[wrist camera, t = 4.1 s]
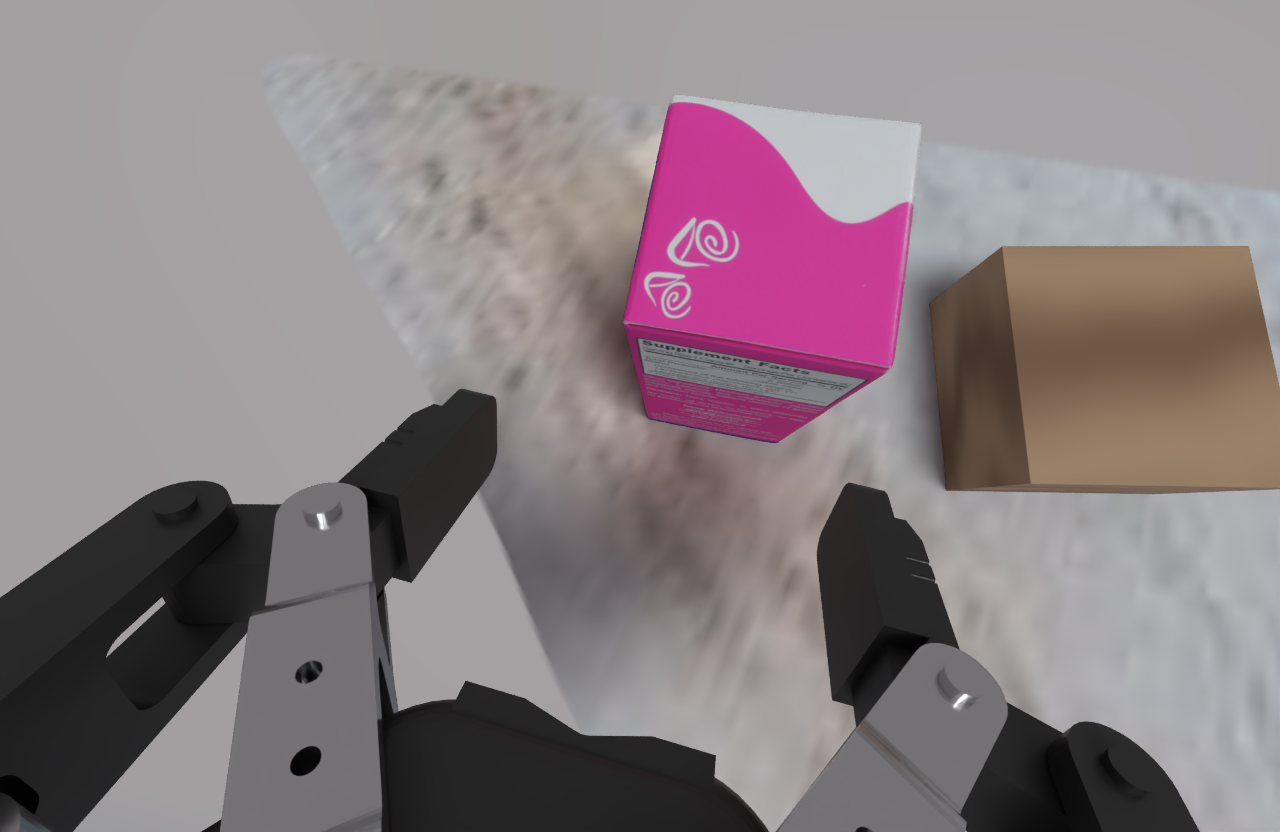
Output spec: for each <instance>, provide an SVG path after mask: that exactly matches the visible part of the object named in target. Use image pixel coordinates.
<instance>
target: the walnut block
mask: <svg viewBox="0 0 1280 832" xmlns="http://www.w3.org/2000/svg"><path fill="white" fill-rule="evenodd" d="M929 305H930V316H931V327H932V338H933V349H934V360H935V371H936V382H937V393H938V404H939V415H940V426H941V437H942V448H943V459H944V470H945V481H946V491H1004V492H1062V493H1120V494H1168V493H1193V492H1219V491H1244V490H1269V489H1280V388H1279V383H1278V378H1277V374H1276V369H1275V365H1274V360H1273V355H1272V351H1271V346H1270V342H1269V337H1268V332H1267V328H1266V323H1265V319H1264V314H1263V309H1262V305H1261V300H1260V296H1259V291H1258V286H1257V282H1256V277H1255V273H1254V268H1253V263H1252V259H1251V254H1250V250H1249V246H1007V247H1001V248H1000V249H998V250H997V251H996V252H994V253H993V254H992V255H991V256H989V257H988V258H987V259H985V260H984V261H983V262H982V263H980V264H979V265H978V266H977V267H975V268H974V269H973V270H971V271H970V272H969V273H968V274H966V275H965V276H964V277H962V278H961V279H960V280H959V281H957V282H956V283H955V284H953V285H952V286H951V287H950V288H948V289H947V290H946V291H944V292H943V293H942V294H941V295H939V296H938V297H937V298H935V299H934V300H933V301H932V302H930V303H929Z"/></svg>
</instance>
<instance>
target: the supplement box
mask: <svg viewBox="0 0 1280 832" xmlns="http://www.w3.org/2000/svg"><path fill="white" fill-rule="evenodd" d="M921 131H922V126H921V125H920V124H918V123H913V122H900V121H892V120H880V119H871V118H861V117H851V116H840V115H831V114H822V113H812V112H805V111H797V110H788V109H780V108H774V107H766V106H758V105H751V104H745V103H736V102H729V101H722V100H714V99H707V98H700V97H691V96H684V95H674V96H673V97H672V99H671V100H670V103H669V107H668V111H667V115H666V119H665V124H664V128H663V133H662V138H661V143H660V147H659V151H658V156H657V161H656V166H655V171H654V175H653V180H652V184H651V189H650V193H649V198H648V203H647V208H646V213H645V217H644V222H643V227H642V232H641V237H640V242H639V246H638V251H637V256H636V260H635V265H634V270H633V274H632V279H631V284H630V289H629V293H628V298H627V303H626V307H625V312H624V316H623V325H624V328H625V332H626V335H627V339H628V342H629V346H630V350H631V354H632V359H633V362H634V366H635V370H636V374H637V377H638V381H639V386H640V389H641V393H642V397H643V401H644V405H645V409H646V413H647V417H648V418H649V419H651V420H656V421H661V422H666V423H671V424H676V425H682V426H687V427H692V428H697V429H702V430H707V431H712V432H717V433H722V434H727V435H732V436H738V437H743V438H748V439H754V440H759V441H765V442H771V443H778V442H779V441H781V440H782V439H784V438H785V437H787V436H789V435H790V434H791V433H793V432H794V431H796V430H797V429H799V428H801V427H802V426H804V425H805V424H807V423H809V422H810V421H812V420H813V419H815V418H816V417H818V416H820V415H821V414H823V413H824V412H825V411H827V410H828V409H830V408H831V407H833V406H835V405H836V404H838V403H839V402H841V401H842V400H844V399H846V398H847V397H849V396H850V395H852V394H853V393H855V392H857V391H858V390H860V389H861V388H863V387H865V386H866V385H868V384H870V383H871V382H873V381H874V380H876V379H877V378H879V377H881V376H882V375H884V374H885V373H887V372H888V371H889V370H890V369H891V367H892V365H893V361H894V357H895V351H896V343H897V336H898V328H899V321H900V315H901V306H902V296H903V288H904V282H905V276H906V266H907V258H908V250H909V240H910V232H911V223H912V214H913V205H914V198H915V186H916V179H917V166H918V160H919V152H920V142H921Z"/></svg>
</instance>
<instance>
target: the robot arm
mask: <svg viewBox="0 0 1280 832" xmlns="http://www.w3.org/2000/svg"><path fill="white" fill-rule="evenodd" d="M496 454H497V404H496V399H495V397H493V396H490V395H486V394H482V393H478V392H474V391H470V390H466V389H460V390H458V391H457V392H456V393H455V394H454V395H453V396H452V397H451V398H450V399H449V400H448V401H447V402H446V403H445V404H444V405H443V406H440V405H436V404H433V405H431V406H429V407H426V408H424V409H422V410H420V411H418V412H415V413H413V414H412V415H411V416H410V417H408V418H407V419H406V420H405V421H404V422H403V423H402V424H401V425H400V426H399V427H398V429H397V431H396V430H395V431H393V432H392V433H391V434H390V435H389V436H388V437H387V438H386V439H385V442H381V443H380V444H379V445H378V446H377V447H376V448H375V449H374V450H373V451H371V452H370V453H369V454H368V455H367V456H366V457H365V458H364V459H363V460H362V461H361V462H360V463H358V464H357V465H356V466H355V467H354V468H353V469H352V470H351V471H350V472H349V473H347V474H346V475H345V476H344V477H343V478H342V479H341V480H340V481H339V482H338V483H324V484H319V485H314V486H311V487H308V488H306V489H304V490H301V491H299V492H297V493H295V494H294V495H292V496H291V497H289V498H288V499H287V500H286V501H285V502H284V503H283V504H280V505H279V504H277V505H264V504H262V505H259V504H258V505H257V504H254V505H253V504H249V505H248V504H232V501H231V499H230V496H229V494H228V492H227V490H226V489H225V488H224V487H223V486H221V485H219V484H217V483H214V482H209V481H188V482H181V483H177V484H173V485H169V486H166V487H163V488H160V489H158V490H156V491H153V492H151V493H150V494H147V495H145V496H144V497H142V498H141V499H139V500H138V501H136V502H135V503H134V504H132V505H131V506H129V507H128V508H127V509H125V510H124V511H122V512H121V513H119V514H118V515H116V516H115V517H114V518H112V519H111V520H109V521H108V522H107V523H105V524H104V525H102V526H101V527H99V528H98V529H97V530H96V531H94V532H92V533H91V534H90V535H88V536H87V537H85V538H84V539H83V540H81V541H80V542H78V543H77V544H75V545H74V546H73V547H71V548H70V549H69V550H67V551H66V552H64V553H63V554H61V555H60V556H59V557H57V558H56V559H54V560H53V561H51V562H50V563H49V564H47V565H46V566H44V567H43V568H42V569H40V570H39V571H37V572H36V573H34V574H33V575H32V576H30V577H29V578H28V579H26V580H25V581H23V582H22V583H20V584H19V585H18V586H16V587H15V588H13V589H12V590H10V591H9V592H8V593H6V594H5V595H3V596H2V597H1V598H0V832H73V831H74V830H75V829H76V827H77V826H78V825H79V824H80V823H81V821H83V819H84V818H85V817H86V816H87V815H88V814H89V813H90V811H91V810H92V809H93V808H94V807H95V805H97V803H98V802H99V801H100V800H101V799H102V798H103V796H104V795H105V794H106V793H107V792H108V791H109V790H110V788H111V787H112V786H113V785H114V784H115V783H116V782H117V781H118V779H119V778H120V777H121V776H122V775H123V774H124V773H125V771H126V770H127V769H128V768H129V767H130V766H131V765H132V763H133V762H134V761H135V760H136V759H137V758H138V757H139V755H140V754H141V753H142V752H143V751H144V749H146V747H147V746H148V745H149V744H150V743H151V742H152V741H153V739H154V738H155V737H156V736H157V735H158V734H159V733H160V731H161V730H162V729H163V728H164V727H165V726H166V724H167V723H168V722H169V721H170V720H171V719H172V718H173V717H174V716H175V714H176V713H177V712H178V711H179V710H180V709H181V707H182V706H183V705H184V704H185V703H186V702H187V701H188V700H189V698H190V697H191V696H192V695H193V694H194V693H195V691H196V690H197V689H198V688H199V687H200V686H201V685H202V684H203V682H204V681H205V680H206V679H207V678H208V677H209V675H210V674H211V673H212V672H213V671H214V670H215V669H216V667H217V666H218V665H219V664H220V663H221V662H222V661H223V660H224V658H225V657H226V656H227V655H228V654H229V653H230V652H231V650H232V649H233V648H234V647H235V646H236V644H238V642H239V641H240V640H241V639H242V638H243V637H244V636H245V634H246V633H247V638H246V645H245V653H244V660H243V667H242V674H241V682H240V689H239V696H238V703H237V711H236V718H235V725H234V732H233V740H232V747H231V754H230V762H229V769H228V776H227V783H226V791H225V798H224V805H223V812H222V819H221V820H219V821H218V822H216V823H215V824H213V825H212V826H210V827H208V828H207V829H205V830H203V831H202V832H769V831H768V829H767V828H766V826H765V825H764V824H763V822H762V821H761V820H760V819H759V817H758V816H757V815H756V814H755V812H754V811H753V810H752V809H751V808H750V807H749V806H748V804H747V803H746V802H745V801H744V800H743V799H742V798H741V797H740V796H739V795H738V794H736V793H735V792H734V791H733V790H731V789H730V788H729V787H728V786H727V785H725V784H724V783H723V782H721V781H720V780H718V779H716V778H715V777H714V774H715V761H716V755H713V754H709V753H706V752H702V751H699V750H696V749H692V748H689V747H686V746H682V745H679V744H676V743H672V742H669V741H666V740H662V739H659V738H656V737H652V736H587V735H583V734H580V733H578V732H576V731H574V730H573V729H571V728H570V727H568V726H567V725H565V724H563V723H562V722H560V721H559V720H558V719H556V718H554V717H553V716H551V715H550V714H548V713H547V712H545V711H543V710H542V709H540V708H539V707H537V706H536V705H534V704H533V703H531V702H529V701H528V700H527V699H525V698H522V697H518V696H515V695H512V694H508V693H505V692H502V691H498V690H494V689H492V688H488V687H485V686H481V685H478V684H475V683H471V682H468V681H465V683H464V685H463V687H462V689H461V691H460V693H459V695H458V697H457V699H456V700H441V701H432V702H428V703H424V704H420V705H415V706H412V707H410V708H407V709H404V710H401V711H399V712H398V705H397V698H396V692H395V685H394V676H393V667H392V656H391V644H390V633H389V622H388V612H387V600H386V594H385V588H384V587H385V585H386V584H387V583H388V581H389V580H390V579H391V578H392V577H393V578H396V579H400V580H403V581H407V582H410V583H412V581H413V580H414V579H415V577H416V576H417V575H418V573H419V572H420V570H421V569H422V568H423V566H424V565H425V563H426V562H427V561H428V559H429V558H430V556H431V555H432V554H433V552H434V551H435V549H436V548H437V547H438V545H439V544H440V542H441V541H442V540H443V538H444V537H445V536H446V534H447V533H448V531H449V530H450V529H451V527H452V526H453V524H454V523H455V522H456V520H457V519H458V517H459V516H460V515H461V513H462V512H463V510H464V509H465V508H466V506H467V505H468V504H469V502H470V501H471V499H472V498H473V497H474V495H475V494H476V492H477V491H478V490H479V488H480V487H481V485H482V484H483V483H484V481H485V480H486V478H487V477H488V476H489V474H490V472H491V470H492V468H493V466H494V463H495V459H496ZM817 564H818V574H819V583H820V592H821V601H822V611H823V620H824V629H825V638H826V648H827V657H828V666H829V676H830V685H831V694H832V700H833V701H837V702H841V703H844V704H848V705H851V706H853V707H854V714H855V722H856V728H855V729H854V730H853V732H852V733H851V734H850V736H849V737H848V738H847V740H846V741H845V742H844V743H843V745H842V746H841V747H840V749H839V750H838V751H837V753H836V754H835V755H834V756H833V758H832V759H831V760H830V762H829V763H828V764H827V766H826V767H825V768H824V769H823V771H822V772H821V773H820V775H819V776H818V777H817V779H816V780H815V781H814V782H813V784H812V785H811V786H810V788H809V789H808V790H807V792H806V793H805V794H804V795H803V797H802V798H801V799H800V801H799V802H798V803H797V804H796V806H795V807H794V808H793V810H792V811H791V812H790V813H789V815H788V816H787V817H786V819H785V820H784V821H783V822H782V824H781V825H780V826H779V828H778V829H777V830H776V831H775V832H965V830H966V831H967V832H1200V831H1199V830H1198V828H1197V826H1196V824H1195V822H1194V820H1193V818H1192V817H1191V815H1190V813H1189V811H1188V809H1187V807H1186V805H1185V803H1184V802H1183V800H1182V798H1181V796H1180V794H1179V792H1178V791H1177V789H1176V787H1175V786H1174V784H1173V782H1172V781H1171V779H1170V778H1169V777H1168V775H1167V774H1166V773H1165V771H1164V770H1163V769H1162V768H1161V767H1160V766H1159V765H1158V763H1157V762H1156V761H1155V760H1154V759H1153V758H1152V757H1151V756H1150V755H1149V754H1148V753H1146V752H1145V751H1144V750H1143V749H1142V748H1141V747H1139V746H1138V745H1137V744H1136V743H1134V742H1133V741H1132V740H1130V739H1129V738H1127V737H1126V736H1124V735H1122V734H1121V733H1119V732H1117V731H1115V730H1113V729H1111V728H1109V727H1107V726H1104V725H1102V724H1098V723H1094V722H1079V723H1077V724H1075V725H1073V726H1072V727H1071V728H1069V729H1068V730H1067V731H1066V732H1064V733H1062V732H1060V731H1058V730H1056V729H1054V728H1053V727H1051V726H1049V725H1047V724H1045V723H1043V722H1042V721H1040V720H1038V719H1036V718H1034V717H1032V716H1031V715H1029V714H1027V713H1025V712H1023V711H1022V710H1020V709H1018V708H1016V707H1014V706H1012V705H1011V704H1009V703H1007V702H1006V699H1005V696H1004V694H1003V692H1002V690H1001V688H1000V686H999V685H998V683H997V682H996V680H995V679H994V678H993V676H992V675H991V674H990V673H989V672H988V671H987V670H986V669H985V668H984V667H983V666H982V665H981V664H980V663H979V662H978V661H976V660H975V659H974V658H972V657H971V656H969V655H968V654H966V653H965V652H963V651H961V650H960V649H959V646H958V643H957V640H956V638H955V635H954V632H953V629H952V626H951V623H950V620H949V617H948V614H947V611H946V609H945V606H944V603H943V600H942V597H941V594H940V591H939V588H938V585H937V584H936V583H935V577H934V574H933V571H932V568H931V566H929V559H928V556H927V553H926V551H925V548H924V545H923V542H922V540H921V539H920V538H919V536H918V535H917V534H916V533H915V531H914V530H913V529H912V528H911V526H910V525H909V524H908V523H907V521H906V520H902V519H897V518H894V514H893V511H892V508H891V504H890V501H889V498H888V495H887V493H886V492H885V491H882V490H878V489H874V488H870V487H866V486H862V485H857V484H853V483H847V484H846V485H845V487H844V488H843V490H842V492H841V494H840V496H839V498H838V500H837V502H836V504H835V506H834V508H833V510H832V512H831V514H830V516H829V518H828V520H827V522H826V524H825V526H824V528H823V530H822V532H821V535H820V538H819V542H818V548H817ZM161 597H163V599H164V601H165V604H164V605H163V606H162V607H161V608H160V609H159V610H158V611H156V612H155V613H154V614H153V615H152V616H151V617H150V618H149V619H148V620H147V621H146V622H145V623H143V624H142V625H141V626H140V627H139V628H138V629H137V630H136V631H135V632H134V633H133V634H132V635H130V636H129V637H128V638H127V639H126V640H125V641H124V642H123V643H122V644H121V645H120V646H119V647H117V648H116V649H115V650H114V651H113V652H112V653H111V654H110V655H109V656H108V657H107V658H106V656H107V653H108V651H109V649H110V647H111V646H112V644H113V643H114V641H115V640H116V639H117V638H118V637H119V636H120V635H121V634H122V633H123V632H124V631H125V630H126V629H127V628H128V627H129V626H130V625H132V623H134V622H135V621H136V620H137V619H138V618H139V617H140V616H141V615H142V614H144V613H145V612H146V611H147V610H148V609H149V608H150V607H151V606H152V605H154V604H155V603H156V602H157V601H158V600H159V599H160V598H161Z"/></svg>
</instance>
